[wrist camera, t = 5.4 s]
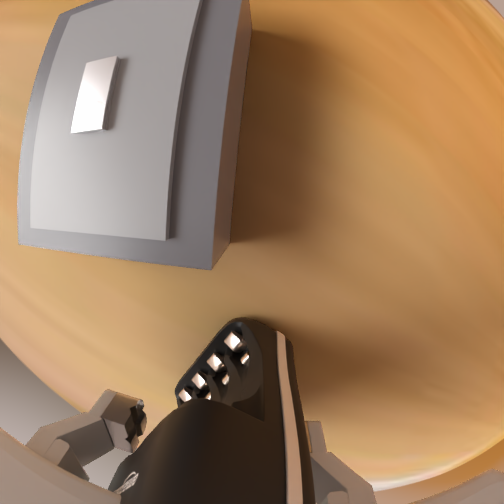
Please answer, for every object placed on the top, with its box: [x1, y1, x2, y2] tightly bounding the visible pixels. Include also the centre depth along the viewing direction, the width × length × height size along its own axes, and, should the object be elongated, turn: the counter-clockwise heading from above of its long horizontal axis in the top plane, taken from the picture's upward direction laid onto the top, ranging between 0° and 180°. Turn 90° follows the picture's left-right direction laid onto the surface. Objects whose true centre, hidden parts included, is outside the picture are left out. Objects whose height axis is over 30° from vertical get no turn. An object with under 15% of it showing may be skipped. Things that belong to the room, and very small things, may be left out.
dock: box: [17, 0, 252, 270], centre depth 8 cm, size 8×10×5 cm
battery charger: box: [108, 318, 316, 504], centre depth 7 cm, size 7×4×11 cm, turn 144°
